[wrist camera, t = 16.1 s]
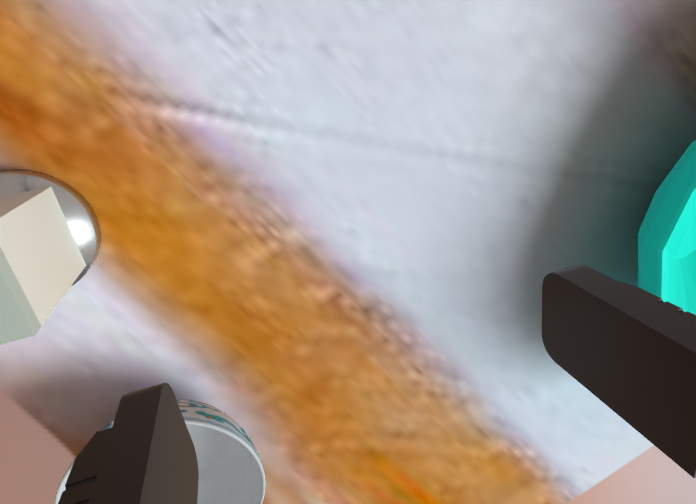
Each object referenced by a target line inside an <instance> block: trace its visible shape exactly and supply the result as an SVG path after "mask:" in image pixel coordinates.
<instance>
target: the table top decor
mask: <svg viewBox="0 0 696 504" xmlns="http://www.w3.org/2000/svg"><path fill="white" fill-rule="evenodd" d="M638 287H639V288H641V289H643V290H645V291H648V292H650V293H652V294H654V295H656V296H658V297H660V298H662V299H663V301H664V302H666V301H668V302H670V303H672V304H674V305H676V306H678V307H680V308H682V309H683V311H684V312H687V311H688V312H690V313H692V314H694V315H696V140H694V141H693V142H692V143H691V144H690V145H689V147H688V148H687V149H686V151H685V152H684V153H683V155H682V156H681V157H680V159H679V160H678V162H677V163H676V164H675V166H674V167H673V168H672V170H671V171H670V172H669V174H668V175H667V177H666V178H665V179H664V181H663V182H662V183H661V185H660V186H659V188H658V189H657V190H656V192H655V194H654V196H653V199H652V201H651V203H650V206H649V208H648V210H647V213H646V215H645V217H644V220H643V222H642V224H641V226H640V229H639V233H638Z"/></svg>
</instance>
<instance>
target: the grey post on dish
mask: <svg viewBox="0 0 696 504" xmlns="http://www.w3.org/2000/svg"><path fill="white" fill-rule="evenodd" d="M46 187H52V190H53V192H54V194H55V196H56V199H57V201H58V203H59V205H60V208H61V210H62V212H63V214H64V217H65V219H66V221H67V223H68V226H69V228H70V230H71V232H72V235H73V237H74V239H75V241H76V244H77V246H78V248H79V250H80V253H81V255H82V257H83V259H84V262H85V264H86V266H85V268H84V269H83V271H82V272H81V273H80V275H79V276H78V277H77V279H76V280H75V281H74V283H73V284H72V285H74V284H75V283H76V282H78V281H79V280H80V279H81V278H82V277H83V276H84V275H85V273H86V272H87V271H88V269H89V268H90V266H91V265H92V264H93V262H94V261H95V259H96V257H97V254H98V251H99V248H100V242H101V232H100V226H99V223H98V220H97V217H96V215H95V213H94V211H93V209H92V208H91V206H90V205H89V203H88V202H87V201H86V200H85V198H84V197H83V196H82V195H81V194H80V193H78V192H77V191H76V190H75V189H74V188H72V187H71V186H70V185H68V184H66V183H65V182H63V181H61V180H59V179H57V178H55V177H53V176H50V175H47V174H44V173H40V172H35V171H28V170H9V171H2V172H0V197H4V196H8V195H13V194H18V193H23V192H27V191H32V190H37V189H42V188H46ZM72 285H71V286H72Z"/></svg>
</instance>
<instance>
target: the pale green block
mask: <svg viewBox="0 0 696 504" xmlns="http://www.w3.org/2000/svg"><path fill="white" fill-rule="evenodd" d="M85 266H86V264H85V262H84V259H83V257H82V255H81V253H80V250H79V248H78V246H77V244H76V241H75V239H74V237H73V235H72V232H71V230H70V228H69V226H68V223H67V221H66V219H65V217H64V214H63V212H62V210H61V208H60V205H59V203H58V201H57V199H56V196H55V194H54V192H53V190H52V187H46V188H42V189H37V190H32V191H27V192H23V193H18V194H13V195H8V196H4V197H0V345H1V344H4V343H8V342H12V341H16V340H20V339H23V338H27V337H31V336H35V334H36V333H37V332H38V330H39V329H40V328H41V326H42V325H43V323H44V322H45V321H46V319H47V318H48V317H49V315H50V314H51V313H52V311H53V310H54V309H55V307H56V306H57V304H58V303H59V302H60V300H61V299H62V298H63V296H64V295H65V294H66V292H67V291H68V290H69V288H70V287H71V285H72V284H73V283H74V281H75V280H76V279H77V277H78V276H79V275H80V273H81V272H82V271H83V269H84V268H85Z"/></svg>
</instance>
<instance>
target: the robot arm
mask: <svg viewBox="0 0 696 504" xmlns="http://www.w3.org/2000/svg"><path fill="white" fill-rule="evenodd" d="M542 339H543V343H544V346H545V348H546V350H547V352H548V354H549V355H550V357H551V358H552V359H553V360H554V361H555V362H556V363H557V364H558V365H559V366H561V367H562V368H563V369H564V370H565V371H566V372H568V373H569V374H570V375H571V376H572V377H574V378H575V379H576V380H577V381H578V382H580V383H581V384H582V385H583V386H584V387H586V388H587V389H588V390H589V391H590V392H592V393H593V394H594V395H595V396H596V397H598V398H599V399H600V400H601V401H602V402H604V403H605V404H606V405H607V406H608V407H610V408H611V409H612V410H613V411H614V412H616V413H617V414H618V415H619V416H620V417H621V418H623V419H624V420H625V421H626V422H627V423H629V424H630V425H631V426H632V427H633V428H635V429H636V430H637V431H638V432H639V433H641V434H642V435H643V436H644V437H645V438H647V439H648V440H649V441H650V442H651V443H653V444H654V445H655V446H656V447H658V448H659V449H660V450H661V451H662V452H663V453H665V454H666V455H667V456H668V457H669V458H671V459H672V460H673V461H674V462H675V463H677V464H678V465H679V466H680V467H681V468H682V469H684V470H685V471H686V472H687V473H689V474H690V475H691V476H692V477H693V478H695V477H696V315H694V314H692V313H690V312H688V311H687V312H684V311H683V309H682V308H680V307H678V306H676V305H674V304H672V303H670V302H668V301H666V302H664V301H663V299H662V298H660V297H658V296H656V295H654V294H652V293H650V292H648V291H645V290H643V289H641V288H639V287H636V286H632V285H629V284H625V283H621V282H617V281H615V280H613V279H611V278H609V277H607V276H605V275H603V274H601V273H599V272H597V271H595V270H593V269H591V268H589V267H587V266H584V265H578V266H574V267H571V268H567V269H564V270H560V271H557V272H553V273H550V274H548V275H546V277H545V278H544V280H543V287H542ZM198 480H199V471H198V462H197V456H196V451H195V447H194V444H193V441H192V439H191V436H190V434H189V431H188V429H187V426H186V423H185V421H184V418H183V416H182V413H181V411H180V408H179V406H178V403H177V401H176V398H175V396H174V393H173V391H172V389H171V387H170V386H169V384H168V383H163V384H160V385H156V386H153V387H149V388H146V389H142V390H139V391H135V392H132V393H128V394H125V395H123V397H122V398H121V401H120V404H119V407H118V410H117V414H116V417H115V420H114V423H113V426H112V428H108V429H105V430H101V431H98V432H96V434H95V435H94V436H93V437H92V439H91V440H90V441H89V442H88V443H87V445H86V446H85V447H84V448H83V450H82V451H81V452H80V453H79V455H78V456H77V457H76V458H75V461H74V464H73V466H72V469H71V471H70V474H69V477H68V479H67V482H66V484H65V487H66V490H65V491H63V492H62V495H61V497H60V500H59V502H58V504H197V498H198Z"/></svg>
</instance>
